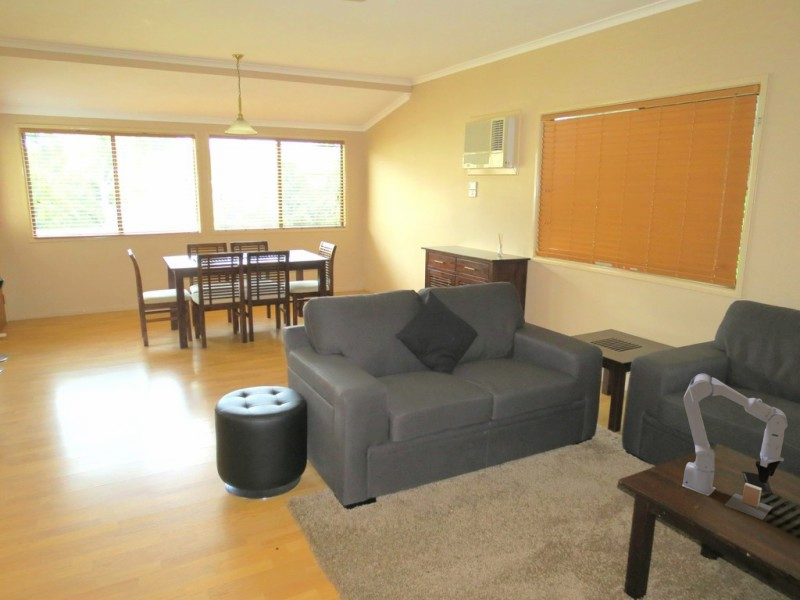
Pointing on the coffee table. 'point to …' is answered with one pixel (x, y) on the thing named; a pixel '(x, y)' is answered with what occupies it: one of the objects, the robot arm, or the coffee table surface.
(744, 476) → the phone
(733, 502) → the mat
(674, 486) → the coffee table surface
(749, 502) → the tile
